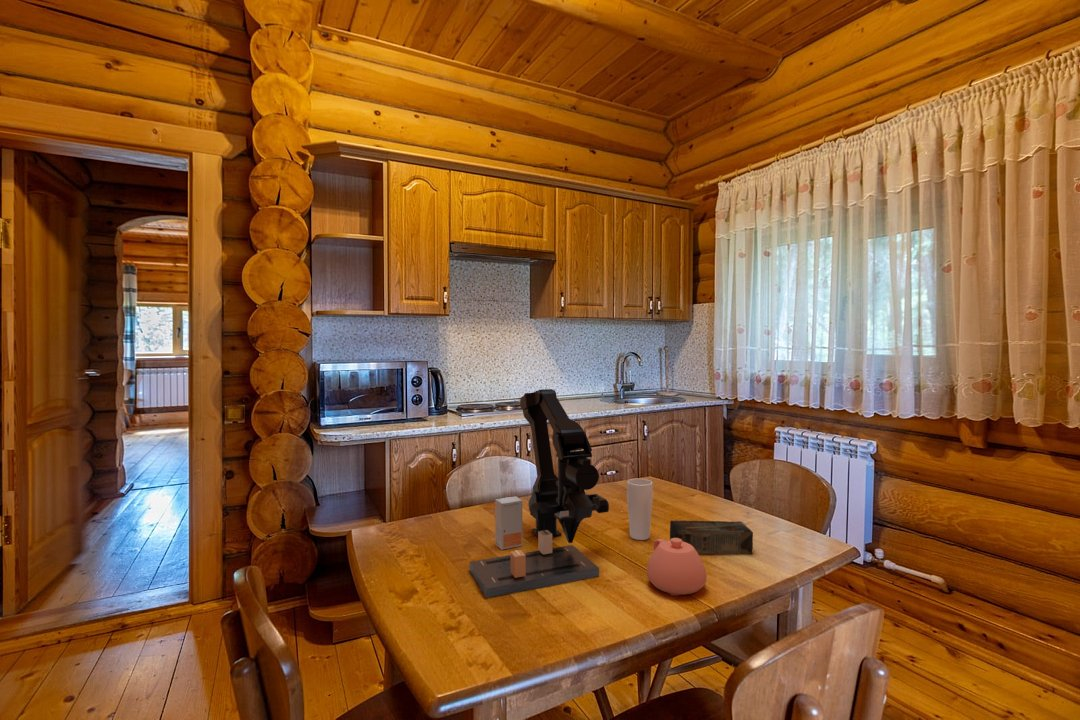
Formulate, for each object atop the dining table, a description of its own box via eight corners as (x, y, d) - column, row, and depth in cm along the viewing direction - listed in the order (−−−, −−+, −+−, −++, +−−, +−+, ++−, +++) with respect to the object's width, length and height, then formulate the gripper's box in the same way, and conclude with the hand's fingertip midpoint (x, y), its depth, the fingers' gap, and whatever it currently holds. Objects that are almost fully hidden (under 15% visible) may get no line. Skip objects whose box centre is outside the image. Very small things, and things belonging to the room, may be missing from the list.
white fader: (538, 549, 125) (538, 530, 125) (547, 548, 126) (547, 529, 126) (543, 554, 123) (542, 534, 123) (552, 552, 124) (552, 533, 123)
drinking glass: (652, 543, 135) (652, 485, 135) (626, 541, 137) (626, 484, 136) (652, 533, 142) (652, 478, 142) (627, 531, 143) (627, 477, 143)
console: (469, 570, 120) (469, 561, 120) (572, 552, 129) (572, 544, 129) (485, 598, 107) (485, 588, 107) (598, 576, 116) (598, 567, 116)
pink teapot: (670, 605, 103) (670, 555, 103) (631, 576, 116) (631, 531, 116) (719, 593, 108) (719, 544, 108) (675, 566, 121) (676, 523, 121)
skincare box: (501, 550, 131) (501, 503, 131) (494, 544, 135) (494, 499, 134) (523, 546, 134) (522, 499, 134) (516, 540, 138) (515, 495, 137)
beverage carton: (754, 556, 127) (754, 529, 127) (675, 556, 128) (675, 529, 127) (742, 543, 135) (742, 518, 135) (668, 543, 136) (668, 518, 135)
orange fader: (510, 572, 113) (510, 550, 113) (520, 570, 114) (520, 549, 114) (515, 577, 111) (514, 555, 110) (525, 575, 112) (525, 554, 111)
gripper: (546, 492, 115) (547, 561, 116) (620, 483, 122) (620, 548, 123) (529, 479, 126) (529, 543, 126) (598, 472, 133) (598, 532, 133)
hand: (570, 542), depth 127 cm, fingers closed
